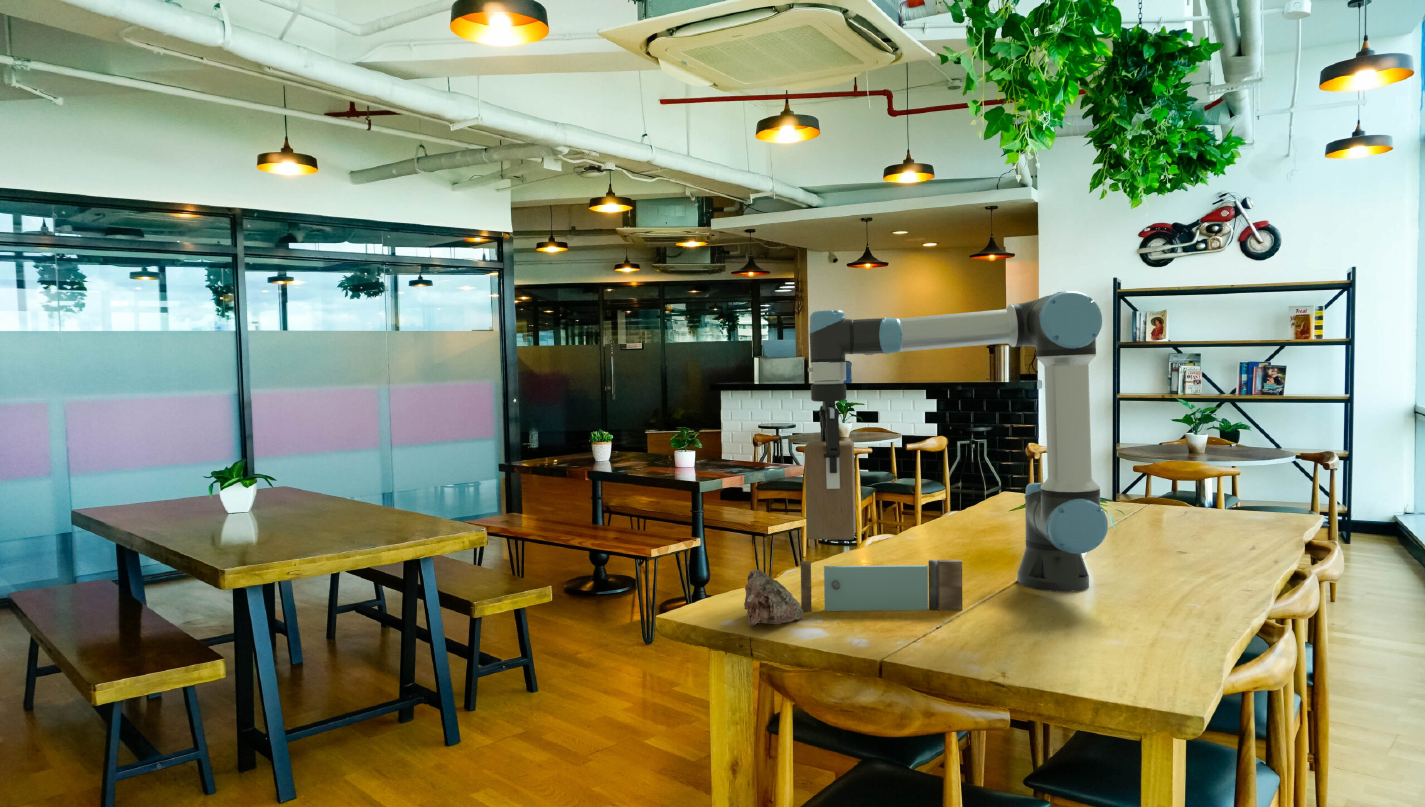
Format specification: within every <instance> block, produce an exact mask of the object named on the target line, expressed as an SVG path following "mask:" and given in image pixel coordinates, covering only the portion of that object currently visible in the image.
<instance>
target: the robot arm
mask: <svg viewBox="0 0 1425 807" xmlns="http://www.w3.org/2000/svg"><path fill="white" fill-rule="evenodd" d="M845 315H846V314H845V312H844V311H843V310H841V309H839V310H838V309H835V310H834V309H829V310H827V309H826V310H817V311H816V310H815V311H813V312H812V313H811V314H810V316H809V355H810V358H809V359H810V367H807V372H808V373H810V381H811V382H813V384H811V385H810V399H811V401H812V402H820V403H821V402H822V404H821V405H820V407H819V410H818V415H819V416H818V417H819V425H820V442H822V441H826V450H827V454H824V455H823V458H826V484H827V489H840V471H839V456H840V445H839V441H840V428H839V426H840V422H839V417H840V410H839V409H838V408H836V402H844V401H846V400H847V385H846V383H844V382H845V381H846V380H847V362H846V355H866V356H871V355H872V356H873V355H878V354H879V355H880V354H881V355H882V354H884V355H888V354H896V353H901V352H912V351H914V352H915V351H925V350H926V351H927V350H937V349H949V348H950V349H951V348H962V347H973V346H975V347H976V346H989V345H1000V344H1008V345H1009V346H1010V347H1011V348H1018V347H1033V348H1035V350H1036V351H1035V352H1036V353H1035V354H1036V356H1035V357H1036V359H1037V361H1039V362H1040V363H1041V364H1042V365H1043V366H1044V395H1045V397H1044V398H1045V401H1044V402H1045V423H1046V424H1045V428H1046V429H1045V431H1046V433H1045V434H1046V457H1047V458H1046V459H1047V460H1046V462H1047V479H1046V480H1045V481H1044V482H1031V483H1028V484H1027V485H1026V487H1025V495H1024V500H1025V504H1024V505H1025V506H1024V508H1025V550H1024V552H1023V555H1022V558H1021V561H1020V564H1019V567H1018V570H1017V583H1018V584H1020V585H1021V586H1023V587H1027V588H1030V589H1035V590H1041V591H1048V592H1076V591H1083V590H1086V589H1088V588H1089V586H1090V576H1089V571H1088V570H1087V567H1086V563H1085V561H1084V558H1083V555H1082V554H1086V553H1088V552H1091V551H1094V549H1097V548H1098V547H1099V546H1100V545H1101V544H1102V543H1103V541H1104V540H1105V538H1106V536H1107V533H1108V530H1109V529H1108V528H1109V522H1108V518H1107V515H1106V513H1105V512H1106V511H1104V509H1103V508H1102V507H1101V486H1100V485H1099V484H1098V483H1097V482H1095V480H1093V475H1092V473H1093V471H1092V448H1091V447H1092V445H1091V413H1090V412H1091V408H1090V405H1091V404H1090V378H1089V376H1090V374H1089V372H1090V370H1089V369H1090V368H1089V365H1090V363H1091V361H1093V359H1094V358H1095V357H1096V356H1097V342H1096V341H1097V339H1096V338H1097V337H1098V335H1099V334H1100V332H1101V330H1102V327H1103V316H1102V311H1101V308H1100V306H1099V305H1098V304H1097V302H1096V301H1095V300H1094V299H1093V298H1092V297H1090V296H1089V295H1087V294H1085V293H1084V292H1080V291H1076V290H1075V291H1074V290H1064V291H1057V292H1055V293H1053V294H1049V295H1046V296H1043V297H1040V298H1037V299H1033V300H1029V301H1027V302H1021V303H1011V304H1008V305H1007V307H1006V308H1004V309H993V310H982V311H972V312H960V313H949V314H939V315H938V314H935V315H928V316H925V315H924V316H915V317H903V318H895V317H876V318H859V319H853V318H851V319H849V318H846V316H845Z"/></svg>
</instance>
